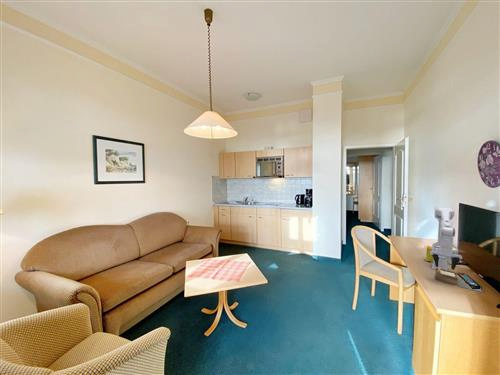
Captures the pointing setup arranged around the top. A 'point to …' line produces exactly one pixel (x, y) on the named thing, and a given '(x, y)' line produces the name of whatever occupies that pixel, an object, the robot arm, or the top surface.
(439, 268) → the lid
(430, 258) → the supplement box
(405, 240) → the top surface
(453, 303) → the top surface
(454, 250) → the light bulb box
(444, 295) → the top surface
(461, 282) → the slate mat
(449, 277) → the walnut box
